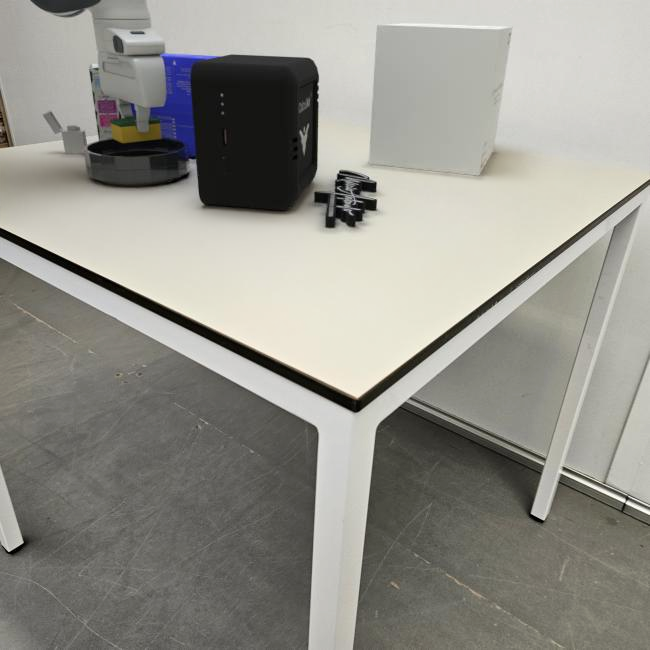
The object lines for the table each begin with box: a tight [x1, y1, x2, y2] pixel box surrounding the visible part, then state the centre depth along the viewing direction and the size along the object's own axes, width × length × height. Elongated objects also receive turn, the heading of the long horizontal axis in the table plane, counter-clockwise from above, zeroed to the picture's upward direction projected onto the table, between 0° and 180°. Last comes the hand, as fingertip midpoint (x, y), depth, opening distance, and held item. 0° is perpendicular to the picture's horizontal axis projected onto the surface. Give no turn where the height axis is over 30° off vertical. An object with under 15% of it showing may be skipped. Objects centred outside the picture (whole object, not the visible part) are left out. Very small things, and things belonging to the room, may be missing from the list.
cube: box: [368, 22, 513, 176], centre depth 120 cm, size 25×21×24 cm
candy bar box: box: [88, 63, 122, 141], centre depth 116 cm, size 11×5×16 cm, turn 18°
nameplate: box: [313, 169, 378, 229], centre depth 95 cm, size 27×2×10 cm
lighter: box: [42, 110, 88, 155], centre depth 119 cm, size 7×2×8 cm, turn 96°
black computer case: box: [190, 53, 320, 211], centre depth 93 cm, size 20×15×20 cm
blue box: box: [130, 52, 222, 159], centre depth 119 cm, size 39×8×18 cm, turn 63°
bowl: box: [83, 137, 191, 187], centre depth 105 cm, size 17×17×5 cm
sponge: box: [110, 116, 162, 143], centre depth 103 cm, size 7×5×3 cm, turn 127°
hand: (135, 128), depth 103 cm, fingers closed on sponge, 4 cm apart
